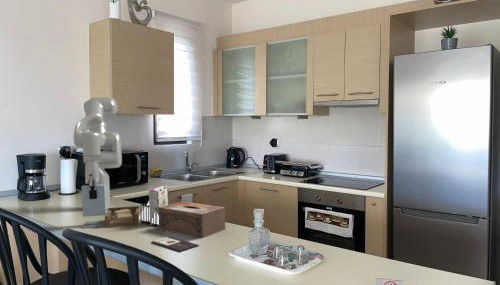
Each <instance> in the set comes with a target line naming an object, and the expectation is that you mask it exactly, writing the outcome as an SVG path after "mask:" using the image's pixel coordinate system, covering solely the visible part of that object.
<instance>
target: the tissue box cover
mask: <svg viewBox="0 0 500 285" xmlns="http://www.w3.org/2000/svg"><path fill="white" fill-rule="evenodd" d="M225 210H226V207H225V206H217V205H210V204H202V203H195V202H187V201H182V200H181V201H178V202H174V203H170V204H168V205H166V206H162V207H159V230H162V229H164V230H163V231H167V230H168V231H167V232H172V233H178V234H182V235H188V236H192V237H197V238H202V239H203V238H206V237H209V236H212V235H214V234H218V233H219V232H222V231H224V230H225V231H226V211H225Z"/></svg>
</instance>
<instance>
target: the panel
mask: <svg viewBox="0 0 500 285" xmlns="http://www.w3.org/2000/svg"><path fill="white" fill-rule="evenodd" d="M80 189H81V202H82V203H81V206H82V217H83V218H84V217H95V216H96V217H98V216H105V215H106V214H107V212H108V209H106V188H105V184H101V185H96V190H97V199H90V197H89V185H88V184H83V185H81V188H80Z"/></svg>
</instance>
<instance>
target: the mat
mask: <svg viewBox="0 0 500 285" xmlns="http://www.w3.org/2000/svg"><path fill="white" fill-rule="evenodd" d="M91 228H105V219H103V220H92V221H89V220H87V221H85V222H84V223H83V225H82V226H81V229H91Z"/></svg>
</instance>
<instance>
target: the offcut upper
mask: <svg viewBox="0 0 500 285" xmlns="http://www.w3.org/2000/svg"><path fill="white" fill-rule="evenodd" d="M130 215H131V210H129V209H124V210H119V211H114V217H117V218H120V217H125V216H130Z"/></svg>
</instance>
